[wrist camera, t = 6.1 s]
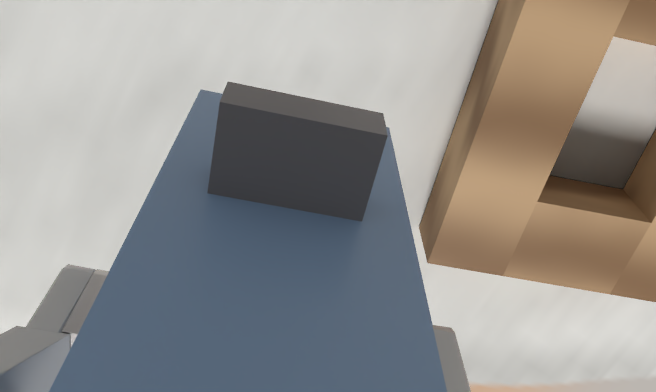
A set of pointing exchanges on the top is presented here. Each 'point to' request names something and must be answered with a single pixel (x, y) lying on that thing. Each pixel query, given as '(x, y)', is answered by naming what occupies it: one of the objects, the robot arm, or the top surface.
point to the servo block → (265, 262)
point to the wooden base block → (543, 158)
